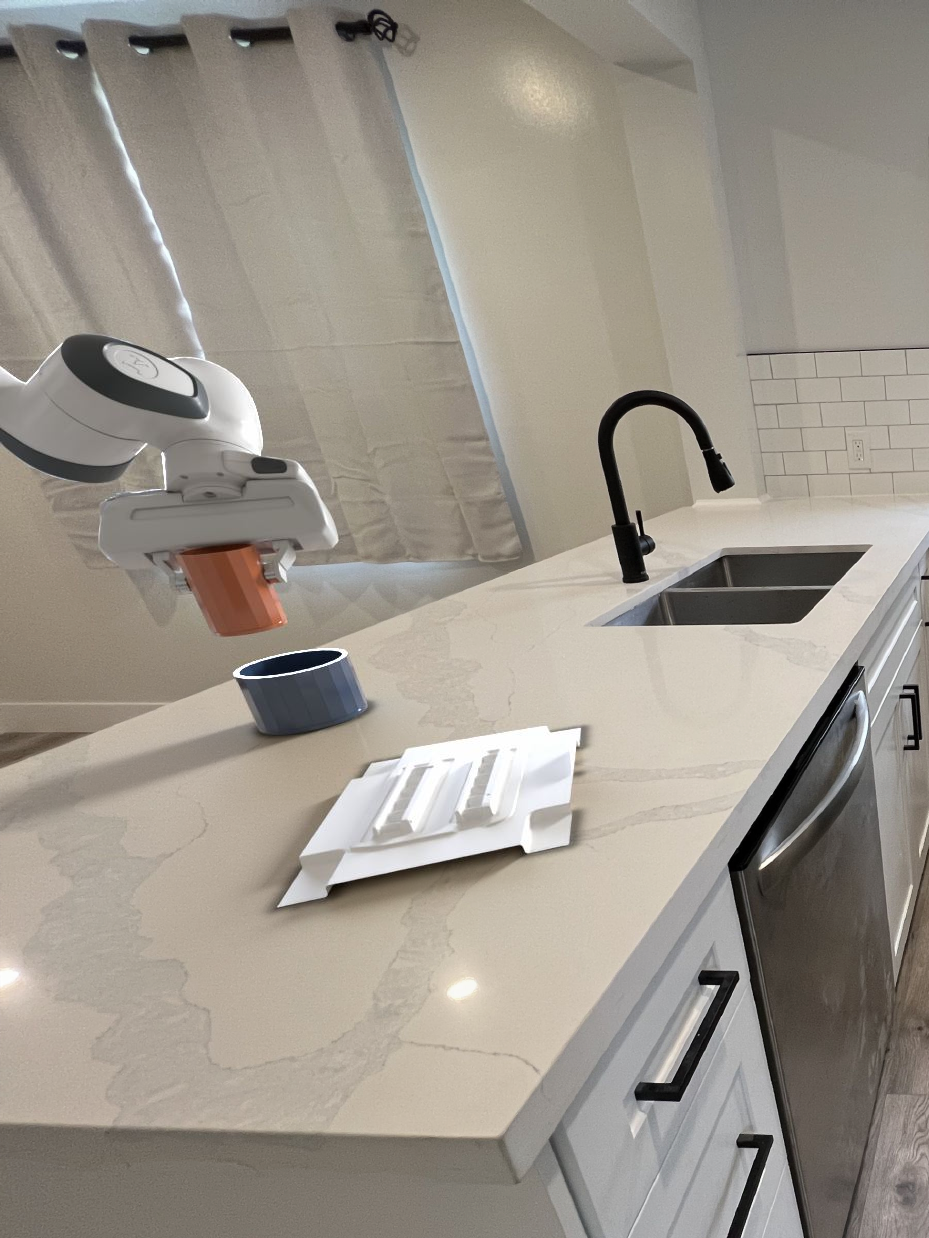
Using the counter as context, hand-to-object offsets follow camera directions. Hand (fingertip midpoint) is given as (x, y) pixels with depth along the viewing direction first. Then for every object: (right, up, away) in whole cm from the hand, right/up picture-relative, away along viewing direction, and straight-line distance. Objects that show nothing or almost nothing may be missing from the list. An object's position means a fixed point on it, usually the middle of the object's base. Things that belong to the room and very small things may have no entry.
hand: (230, 586), depth 89 cm
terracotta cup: (0, -4, +3) cm, 5 cm away
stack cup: (+2, -14, +8) cm, 17 cm away
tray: (+34, -23, -13) cm, 43 cm away
